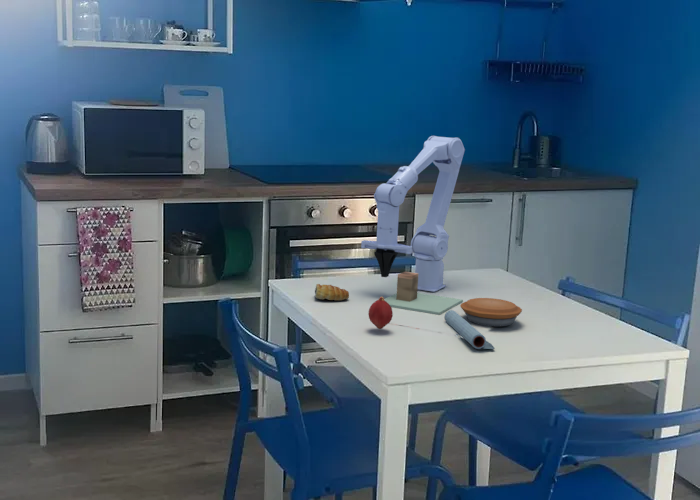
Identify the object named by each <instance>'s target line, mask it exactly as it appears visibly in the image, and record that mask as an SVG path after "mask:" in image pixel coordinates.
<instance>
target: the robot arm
mask: <svg viewBox="0 0 700 500" xmlns="http://www.w3.org/2000/svg"><path fill="white" fill-rule="evenodd" d="M465 151H466V149H465V147H464V144H463V142H462V140H461V139H460V137H446V136H437V135H431V136H429V137H428V138H427V140H425V141H424V143H423V148H422V150H421V151H420V152H418V154H417V156H416V157H415V158H414V160H412V161H411V163H410V164H409V165H408V166H407V165H403V166H400V167H399V168H398V169H397V172H396V173H395V174H394V175H392V177H391V178H389V179H388V180H387V182H386V183H384V182H383V183H381V184H379V185H378V186H377V187H376V189H375V193H373V198H374V200H375V203H376V210H377V223H376V224H377V225H376V240H367V239H366V240H361V244H360V245H361V246H360V248H361V249H371V250H375V251H374V252H373V253H374V257H375V258H376V260H377V264H378V266H379V270H380V276H381V278H388V277H390V276H389V275H390V272H391V268H392V265H394V261H395V259H396V257H397V256H398V254H399V253H401V254H406V255H410V254H413V256H414V258H415V266H414V267H415V269H414V270H415V271H414V273H419V274H418V290H420V291H424V292H425V291H426V292H433V293H435V292H437V291H439V290H442V289H443V288H446V284H443V283H444V272H445V271H444V270H445V269H444V268H445V264H444V262H443V259H444V258H445V256H446V254H447V253H448V249H449V246H448V245H449V237H450V235H449V234H448V233H447V231H446V229H444V227H445V223H446V220H447V216H448V212H449V208H450V205H451V201H452V198H453V195H454V191H455V187H456V183H457V181H458V180H457V179H458V176H459V172H460V168H461V165H462V161H463V157H464V154H465ZM432 163H433V165H435V167H437V169H438V170H439V172H438V176H437V180H436V183H435V187H434V190H433V194H432V198H431V202H430V205H429V208H428V211H427V215H426V219H425V222H424V223H423V224H422V225H419V226H418V227H417V229H416V232H415V234H414V235H413V237H412V238H411V241H410V245H406V244H402V243H398V237H399V236H398V235H399V234H398V233H399V218H400V217H399V216H400V206H401V205H402V204H403V203H404V201H405V198H406V195H407V193H408V191H409V190H410V189H411V188H412V187H413V186H414V185H415V184H416V183H417V182H418V180H419V174H420V173H422V172H423V171H424V170H425V169H426V168H427V167H429V166H430V165H431V164H432ZM418 290H417V291H418Z"/></svg>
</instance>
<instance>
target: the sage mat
mask: <svg viewBox="0 0 700 500" xmlns="http://www.w3.org/2000/svg"><path fill="white" fill-rule="evenodd" d="M396 297H397V292H396V293H394V294H392V295H390V296H387V297H385V298H384V300H385V301H386V302H387V303H388V304H389V305H390V306H391V308H396V309H402V310H408V311H415V312H419V313H426V314H432V315H442V314H444V313H445V312H448V311H450V310H452V309H453V308H454V307H456V306H458V305H461V304H462V303H464V299H461V298H454V297H447V296H440V295H436V294H427V293H421V292H417V299H415V300H412V301H410V302H409V301H402V300H396Z"/></svg>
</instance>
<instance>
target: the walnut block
mask: <svg viewBox="0 0 700 500" xmlns="http://www.w3.org/2000/svg"><path fill="white" fill-rule="evenodd" d="M418 274H419V273H415V272H411V271H403V272H400V273H397V281H396V293H397V297H396V300H402V301H409V302H410V301H412V300H415V299H417V293H418Z"/></svg>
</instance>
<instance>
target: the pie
mask: <svg viewBox="0 0 700 500" xmlns="http://www.w3.org/2000/svg"><path fill="white" fill-rule="evenodd" d="M459 305H460V306H459V307H460V308H461V310H462V311H463V312H464V314H465V316H466V318H467V319H468V321H469V322H471V323H474V324H477V325H480V326H486V327H487V326H488V327H507V326H510V325H512V324H513V323H514V322H515V320H516V319H517V317H518V316H520V315H521V314H522V311H523V309H522V308H521V307H520V306H518V305H516V304H515V303H513V301H508V300H505V299H499V298H489V297H478V298H477V297H476V298H469V299H468V300H467V301H463V302H462V303H460V304H459Z"/></svg>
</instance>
